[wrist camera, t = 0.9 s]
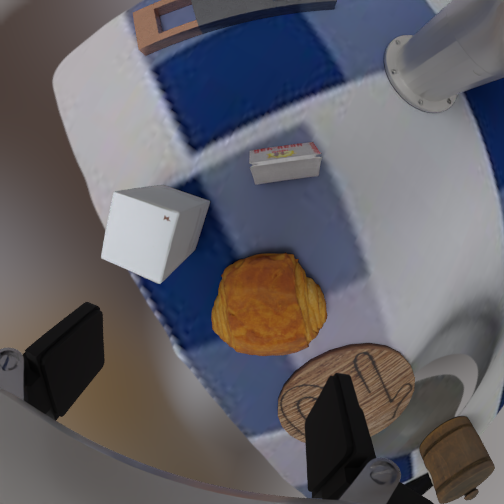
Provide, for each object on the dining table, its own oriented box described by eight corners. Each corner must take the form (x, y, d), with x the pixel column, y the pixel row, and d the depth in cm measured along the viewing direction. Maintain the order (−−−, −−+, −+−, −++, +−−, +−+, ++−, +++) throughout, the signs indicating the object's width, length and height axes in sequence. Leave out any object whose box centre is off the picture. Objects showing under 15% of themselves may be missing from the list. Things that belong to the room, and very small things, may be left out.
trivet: (377, 312, 39) (381, 318, 37) (426, 394, 43) (429, 400, 41) (248, 393, 44) (247, 400, 42) (322, 452, 48) (323, 459, 46)
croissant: (316, 332, 43) (332, 363, 35) (216, 342, 42) (214, 375, 34) (319, 242, 39) (340, 259, 31) (205, 250, 38) (198, 271, 30)
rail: (315, -25, 26) (317, -34, 23) (333, 9, 28) (337, 0, 25) (139, 19, 30) (133, 12, 27) (145, 55, 31) (138, 49, 29)
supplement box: (161, 183, 36) (113, 187, 24) (212, 200, 36) (181, 212, 24) (147, 233, 38) (98, 258, 26) (195, 252, 38) (161, 286, 26)
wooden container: (409, 458, 48) (431, 522, 27) (435, 421, 44) (469, 491, 23) (451, 447, 48) (476, 502, 26) (477, 410, 44) (513, 468, 23)
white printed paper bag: (311, 176, 35) (325, 175, 25) (258, 183, 35) (252, 185, 26) (306, 147, 34) (318, 136, 24) (253, 155, 34) (246, 146, 25)
